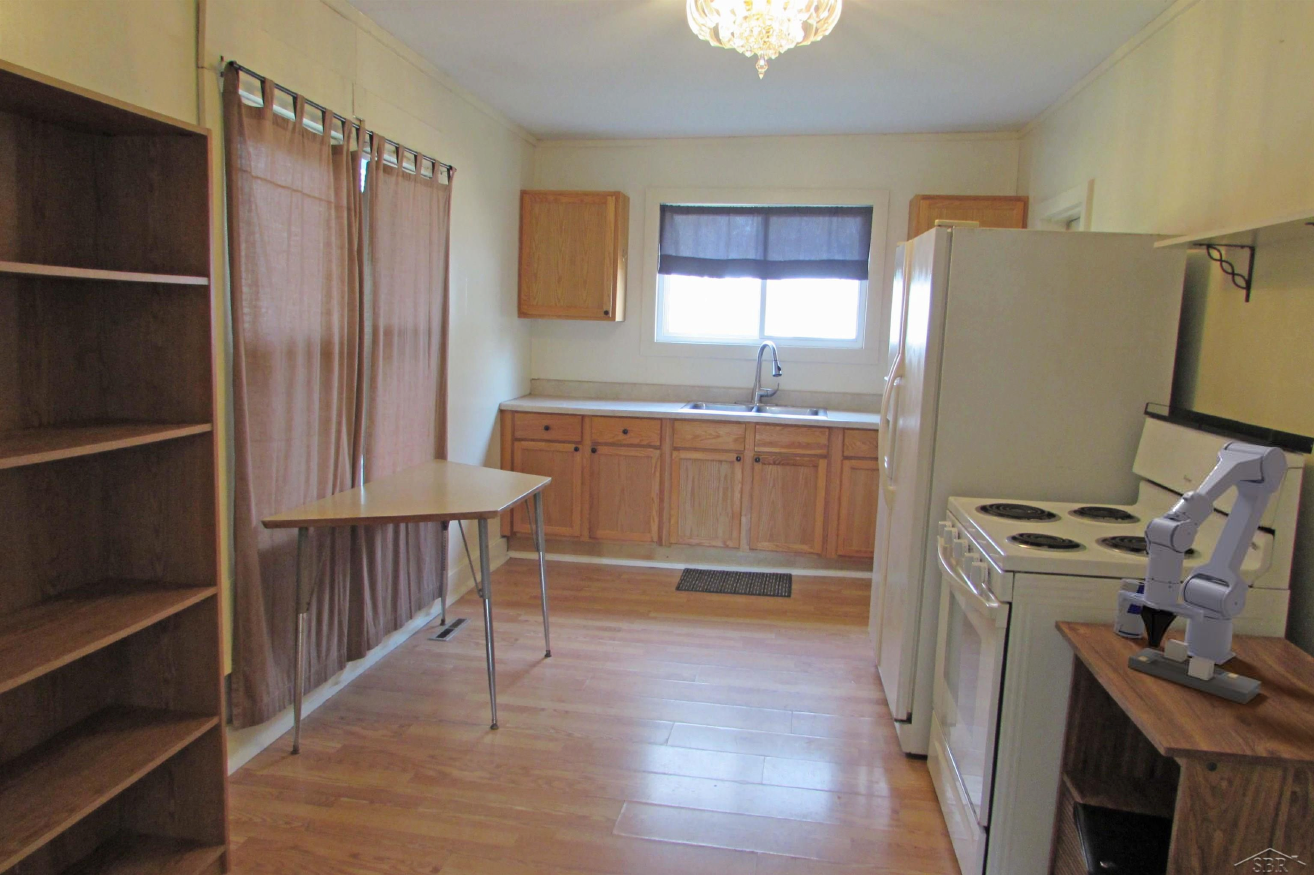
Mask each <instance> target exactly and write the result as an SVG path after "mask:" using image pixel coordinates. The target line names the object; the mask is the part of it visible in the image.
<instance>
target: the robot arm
mask: <svg viewBox="0 0 1314 875" xmlns="http://www.w3.org/2000/svg"><path fill="white" fill-rule="evenodd" d="M1285 454H1286V453H1285V452H1284V450H1283V449H1282V448H1280V447H1279V446H1278V447H1277V446H1274V447H1273V446H1272V447H1271V446H1264V445H1256V444H1250V443H1249V444H1247V443H1242V442H1237V441H1229V442H1227V443H1225V444H1224V445H1223V446H1222V447H1221V449H1220V450H1219V451H1218V452H1217V455H1216V465H1215V466H1214V468H1213V469H1212V471H1210V472H1209V474H1208V475H1207V477H1206V478H1205V479H1204V480H1203V482H1202V483H1201V485H1200V486H1199V487H1198V488H1197V490H1195V491H1187V492H1185V493H1184V494H1183V495H1182V496H1181V497H1180V498H1179V499H1178V500H1177V501H1176V502H1175V503H1174V505H1173V506H1171V508H1170V509H1169V510H1168V511H1166V513H1165V514H1164V515H1163V516H1158V517H1156V518H1153V519H1151V520H1150V521H1149V522H1148V523H1147V525H1146V528H1145V529H1144V531H1143V535H1144V539H1145V542H1146V552H1147V553H1148V558H1147V568H1146V573H1145V580H1144V581H1145V589H1144V594H1138V593H1133V592H1128V591H1124V590H1122V591H1118V594H1117V602H1118V601H1120V602H1128V603H1131V604H1135V605H1139V606H1143V607H1142V610H1140V615H1141V617H1142V619H1143V622H1144V628H1145V632H1146V634H1147V635H1146V636H1147V644H1148V647H1151V648H1154V649H1157V648H1159V647H1160V646H1161V643H1162V640H1163V639H1164V636H1165V634H1166V632H1167V631H1168V629H1169V628H1170V626H1171V625H1172V623H1173V622H1174V621H1175V620H1176V618H1177V617H1181V618H1184V619H1187V620H1186V629H1185V634H1184V641H1183V643H1187V644H1189V646H1188V654H1187V657H1191V658H1193V657H1195V656H1199V657H1202V658H1205V659H1209V660H1212V661H1215V662H1214V665H1215V664H1216V665H1218V666H1219V665H1220V666H1222V665H1223V664H1225V663H1227V661H1229V660H1231V659H1232V658H1233V657H1235V656H1236V653H1235V652H1233V651H1231V646H1232V641H1233V640H1232V639H1233V634H1234V632H1233V631H1234V626H1235V625H1234V622H1233V621H1234V620H1233V619H1236V618H1237V617H1238V616H1239V615H1241V613H1242V612H1243V611H1244V609H1245V607H1246V603H1247V594H1248V592H1249V591H1248V590H1249V587H1250V586H1249V585H1248V583H1247V582H1246V580H1245V579H1244V578H1243V576H1242V575H1241V574H1240V573H1239V572H1240V569H1241V567H1242V566H1243V564H1244V561H1245V558H1246V556H1247V554H1248V551H1249V550H1250V547H1251V544H1252V542H1253V540H1254V538H1255V535H1256V533H1257V530H1258V527H1259V526H1260V523H1261V520H1262V518H1263V516H1264V514H1265V511H1266V509H1267V507H1268V504H1269V503H1270V500H1271V498H1272V495H1273V494H1274V493H1276V492H1277V491H1278V490H1279V487H1280V485H1281V484H1282V480H1283V479H1284V476H1285V474H1286V471H1287V469H1288V467H1289V466H1288V461H1287V456H1286V455H1285ZM1233 486H1234V487H1235V488H1236V490H1237V492H1238V493H1237V495H1236V497H1235V499H1234V502H1233V504H1232V507H1231V509H1230V512H1229V514H1228V516H1227V518H1226V521H1225V522H1224V525H1223V528H1222V530H1221V533H1220V535H1219V537H1218V539H1217V542H1216V544H1215V546H1214V548H1213V551H1212V553H1211V555H1210V557H1209V560H1208V562H1205V563H1203V564H1199V565H1197V566H1195V567H1193V568H1192V569H1191V570H1192V571H1191V572H1190V574H1189V576H1188V577H1187V578H1186V579H1185V580H1184V581H1183V582H1182V585H1181V580H1182V573H1183V572H1182V571H1183V566H1184V558H1185V552H1186V551H1188V550H1189V549H1190V548H1192V546H1193V544H1194V542H1195V538H1196V535H1198V532H1199V529H1198V528H1200V527H1201V526H1202V524H1203V523H1204V522H1205V521H1206V520H1207V519H1208V518H1209V517H1210V516H1211V515H1212V514H1213V513H1214V511H1215V506H1214V502H1215V501H1217V499H1219V498H1220V497H1222V495H1223V494H1225V493H1226V492H1227V491H1228V490H1230V489H1231V488H1232V487H1233ZM1179 595H1180V596H1181V600H1182V602H1184V603H1185V604H1183V603H1181V602H1179Z"/></svg>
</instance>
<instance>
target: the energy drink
mask: <svg viewBox="0 0 1314 875" xmlns="http://www.w3.org/2000/svg"><path fill="white" fill-rule="evenodd" d="M1145 581H1146V580H1144V579H1139V578H1136V577H1135V578H1134V577H1122V579H1121V581H1120V582H1119V583H1120V584H1119V591H1122V590H1124V591H1128V592H1133V593H1138V594H1144V589H1145ZM1119 591H1118V592H1119ZM1142 607H1143V606H1139V605H1135V604H1131V603H1128V602H1120V601H1118V600H1117V605H1116V615H1115V620H1114V630H1113V631H1114V632H1115V634H1117V635H1118V636H1121V637H1123V638H1127V637H1128V638H1127V639H1132V638H1139V639H1141V638H1142V637H1143V636H1144V635H1143V634H1144V628H1145V625H1144V622H1143V619H1142V617H1141V615H1140V610H1142Z"/></svg>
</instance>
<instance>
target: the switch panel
mask: <svg viewBox="0 0 1314 875" xmlns="http://www.w3.org/2000/svg"><path fill="white" fill-rule="evenodd" d="M1127 662H1128V663H1127V668H1130V669H1133V670H1136V671H1140V672H1143V673H1145V672H1146V674H1149V675H1152V676H1155V677H1159V678H1161V679H1163V680H1164V679H1165V680H1166V681H1167V680H1168V681H1170V682H1174V683H1176V684H1177V683H1178V684H1179V685H1182V686H1187V687H1190V688H1193V689H1196V690H1199V691H1202V692H1206V693H1208V694H1211V695H1214V696H1218V697H1221V698H1224V699H1227V700H1230V701H1233V702H1235V703H1240V704H1243V705H1246V704H1247V703H1248V702H1250V701H1252V699H1253V698H1255V697H1256V696H1257V695H1258V694H1260V692H1261V687H1262V681H1260V680H1257V679H1254V678H1250V677H1246V676H1243V675H1240V674H1237V673H1233V672H1230V671H1227V670H1225V669H1222V668H1219V667H1215V666H1214V669H1213V676H1212V678H1210V679H1209V680H1203V679H1200V678H1197V677H1194V676H1190V675H1188V671H1189V664H1190V659H1188V658H1187V659H1186V660H1184V661H1182V662H1179V661H1175V660H1172V659H1169V658H1165V657H1164V652H1163V651H1159V650H1155V649H1153V648H1149V647H1145V648H1143V649H1142V650H1140V651H1137V652H1135V653H1134V654H1131V655H1130V656H1129V657H1128V661H1127Z"/></svg>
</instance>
